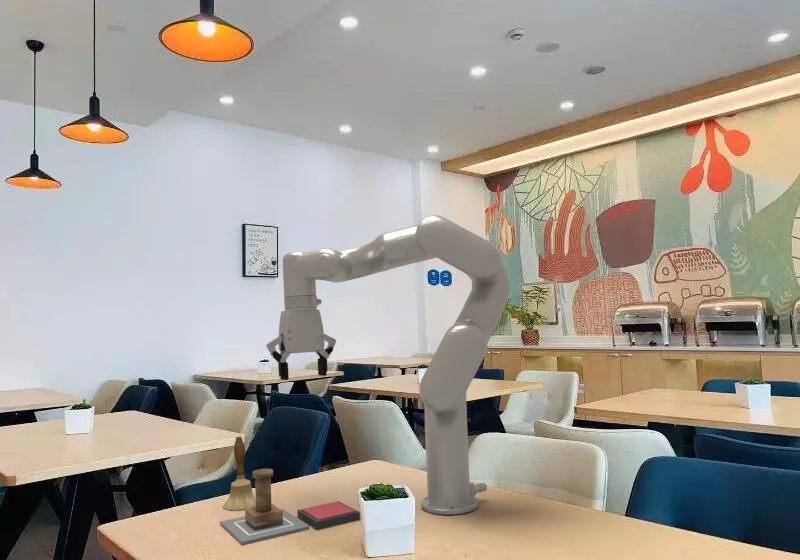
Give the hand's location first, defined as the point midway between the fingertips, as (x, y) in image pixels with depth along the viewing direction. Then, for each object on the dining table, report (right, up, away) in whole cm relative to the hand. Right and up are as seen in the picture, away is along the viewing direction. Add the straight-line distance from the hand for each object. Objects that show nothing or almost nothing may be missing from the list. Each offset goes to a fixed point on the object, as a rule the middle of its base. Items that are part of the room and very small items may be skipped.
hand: (303, 377), depth 141 cm
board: (-6, -29, -15) cm, 33 cm away
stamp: (-6, -28, -15) cm, 32 cm away
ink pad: (+7, -29, -11) cm, 32 cm away
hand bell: (-15, -30, +1) cm, 34 cm away
